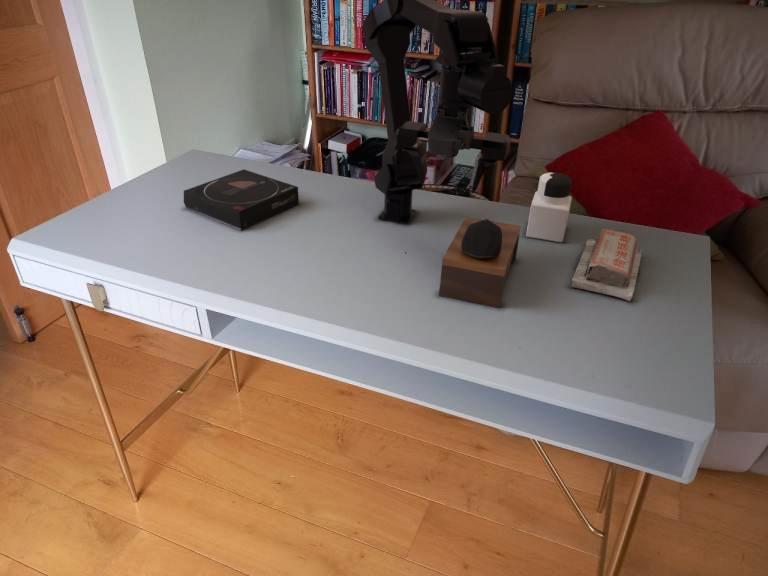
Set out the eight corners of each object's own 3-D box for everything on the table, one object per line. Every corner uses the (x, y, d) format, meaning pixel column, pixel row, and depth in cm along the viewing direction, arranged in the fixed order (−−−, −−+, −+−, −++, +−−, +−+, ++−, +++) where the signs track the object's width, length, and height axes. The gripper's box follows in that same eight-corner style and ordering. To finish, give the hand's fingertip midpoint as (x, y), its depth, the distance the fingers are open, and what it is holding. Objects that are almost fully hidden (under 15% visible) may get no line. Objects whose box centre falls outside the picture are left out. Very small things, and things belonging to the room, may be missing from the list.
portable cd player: (243, 185, 135) (241, 168, 133) (298, 204, 127) (297, 187, 125) (184, 207, 124) (181, 189, 121) (241, 230, 115) (239, 211, 113)
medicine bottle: (565, 228, 120) (577, 172, 114) (562, 243, 115) (574, 185, 108) (530, 222, 122) (539, 167, 116) (525, 237, 116) (535, 179, 110)
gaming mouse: (506, 225, 104) (509, 204, 102) (497, 264, 92) (501, 241, 90) (470, 220, 106) (473, 199, 104) (457, 258, 93) (460, 235, 91)
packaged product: (591, 222, 112) (647, 233, 108) (586, 245, 114) (640, 257, 111) (575, 263, 98) (638, 277, 94) (569, 288, 100) (631, 303, 97)
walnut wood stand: (461, 250, 111) (465, 216, 107) (515, 260, 108) (521, 225, 104) (438, 295, 97) (442, 258, 93) (499, 308, 94) (505, 270, 91)
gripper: (385, 102, 91) (382, 196, 99) (506, 118, 86) (492, 215, 95) (407, 86, 100) (402, 173, 108) (517, 100, 95) (503, 190, 103)
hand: (447, 188), depth 103 cm, fingers open, 9 cm apart
